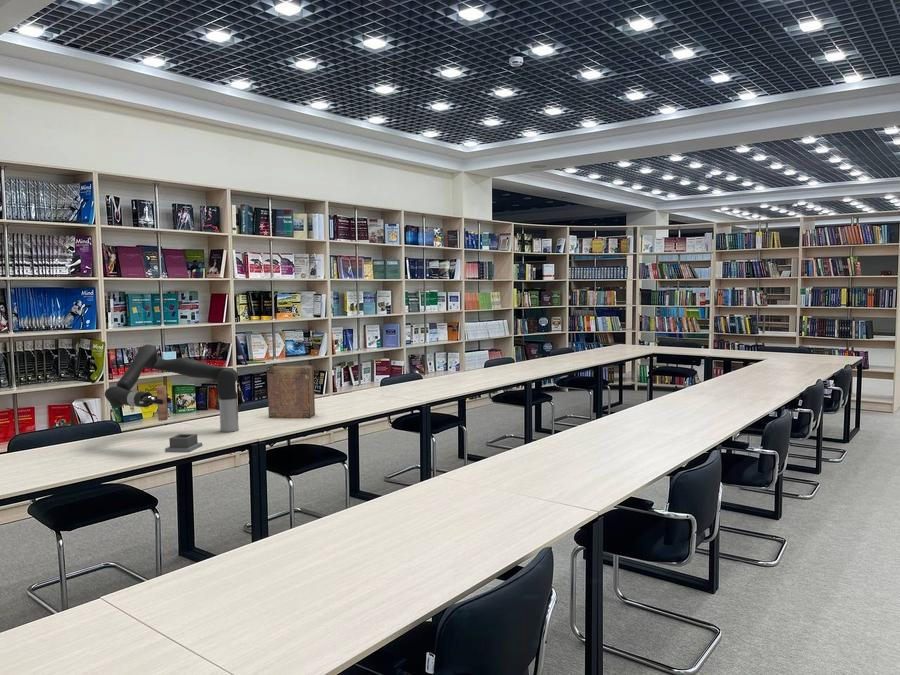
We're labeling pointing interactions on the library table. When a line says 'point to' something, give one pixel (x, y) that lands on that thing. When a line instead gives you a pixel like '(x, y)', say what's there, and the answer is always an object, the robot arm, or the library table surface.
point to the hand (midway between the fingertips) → (166, 401)
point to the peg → (163, 407)
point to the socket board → (183, 443)
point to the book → (290, 391)
